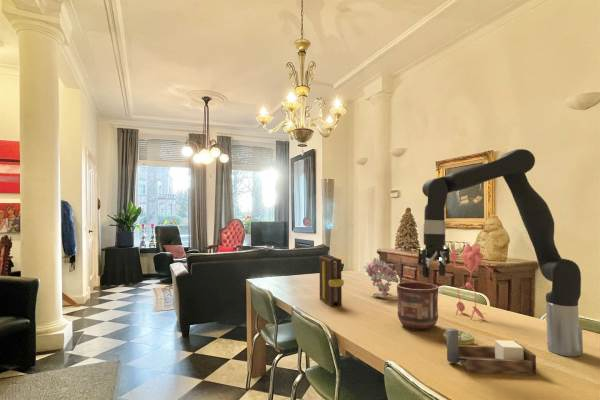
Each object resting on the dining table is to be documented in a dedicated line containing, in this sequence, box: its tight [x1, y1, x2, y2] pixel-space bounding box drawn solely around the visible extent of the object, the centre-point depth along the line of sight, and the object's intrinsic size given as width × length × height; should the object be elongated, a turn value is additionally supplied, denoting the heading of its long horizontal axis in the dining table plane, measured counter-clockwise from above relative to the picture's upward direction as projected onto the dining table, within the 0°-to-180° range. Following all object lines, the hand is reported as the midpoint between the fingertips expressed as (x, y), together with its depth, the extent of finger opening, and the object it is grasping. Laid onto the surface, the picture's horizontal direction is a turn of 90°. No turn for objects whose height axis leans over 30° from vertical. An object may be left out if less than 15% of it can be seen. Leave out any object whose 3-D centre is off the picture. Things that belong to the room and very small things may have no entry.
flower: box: [362, 257, 401, 299], centre depth 208 cm, size 20×22×25 cm
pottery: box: [396, 281, 440, 332], centre depth 151 cm, size 18×18×18 cm
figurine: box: [449, 243, 493, 324], centre depth 167 cm, size 15×26×35 cm, turn 19°
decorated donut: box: [442, 330, 475, 346], centre depth 132 cm, size 10×11×4 cm
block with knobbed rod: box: [445, 327, 524, 364], centre depth 112 cm, size 22×6×10 cm, turn 84°
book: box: [318, 255, 345, 308], centre depth 193 cm, size 22×8×25 cm, turn 17°
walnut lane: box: [459, 340, 537, 376], centre depth 112 cm, size 20×12×6 cm, turn 84°
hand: (434, 276), depth 126 cm, fingers open, 8 cm apart
